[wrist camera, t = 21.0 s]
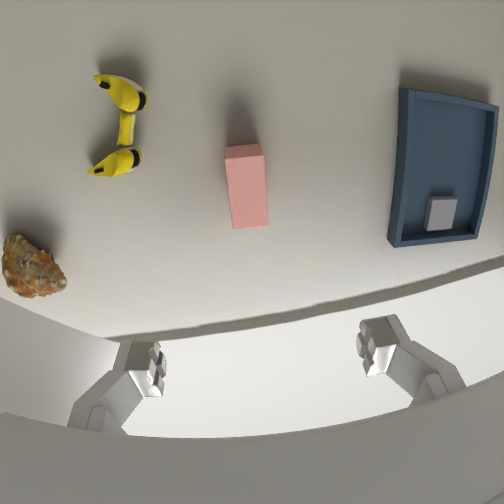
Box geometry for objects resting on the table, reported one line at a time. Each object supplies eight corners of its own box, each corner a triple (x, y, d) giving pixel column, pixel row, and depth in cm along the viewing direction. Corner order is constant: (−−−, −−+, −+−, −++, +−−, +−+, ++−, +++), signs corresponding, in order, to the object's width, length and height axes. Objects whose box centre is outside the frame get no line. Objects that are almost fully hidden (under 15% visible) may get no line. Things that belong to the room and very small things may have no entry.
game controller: (150, 178, 28) (128, 189, 25) (104, 166, 30) (81, 175, 27) (162, 76, 23) (138, 75, 20) (112, 74, 25) (87, 75, 22)
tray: (386, 239, 35) (393, 248, 33) (398, 87, 25) (408, 88, 24) (468, 231, 35) (477, 239, 33) (488, 103, 25) (499, 106, 24)
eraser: (232, 208, 32) (232, 229, 28) (225, 146, 28) (224, 158, 24) (264, 205, 32) (268, 226, 28) (259, 143, 28) (264, 154, 24)
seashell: (46, 208, 33) (45, 248, 26) (71, 255, 38) (79, 301, 32) (-8, 239, 30) (-18, 286, 23) (21, 283, 35) (20, 332, 28)
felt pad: (422, 227, 33) (426, 231, 33) (428, 196, 31) (432, 199, 30) (447, 225, 33) (451, 229, 33) (453, 195, 31) (457, 199, 30)
